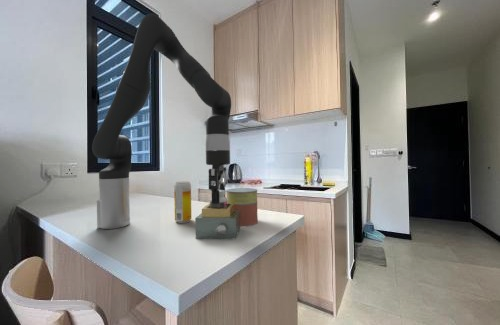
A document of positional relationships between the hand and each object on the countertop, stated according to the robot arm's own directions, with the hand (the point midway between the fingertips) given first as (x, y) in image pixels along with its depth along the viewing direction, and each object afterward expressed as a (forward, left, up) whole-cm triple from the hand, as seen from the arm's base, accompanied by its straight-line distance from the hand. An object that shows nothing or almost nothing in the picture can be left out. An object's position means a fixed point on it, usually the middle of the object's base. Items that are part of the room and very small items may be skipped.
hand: (218, 200), depth 67 cm
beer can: (-17, +13, -10) cm, 24 cm away
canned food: (+6, +12, -10) cm, 17 cm away
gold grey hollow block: (0, -1, -10) cm, 10 cm away
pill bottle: (0, 0, -7) cm, 7 cm away
